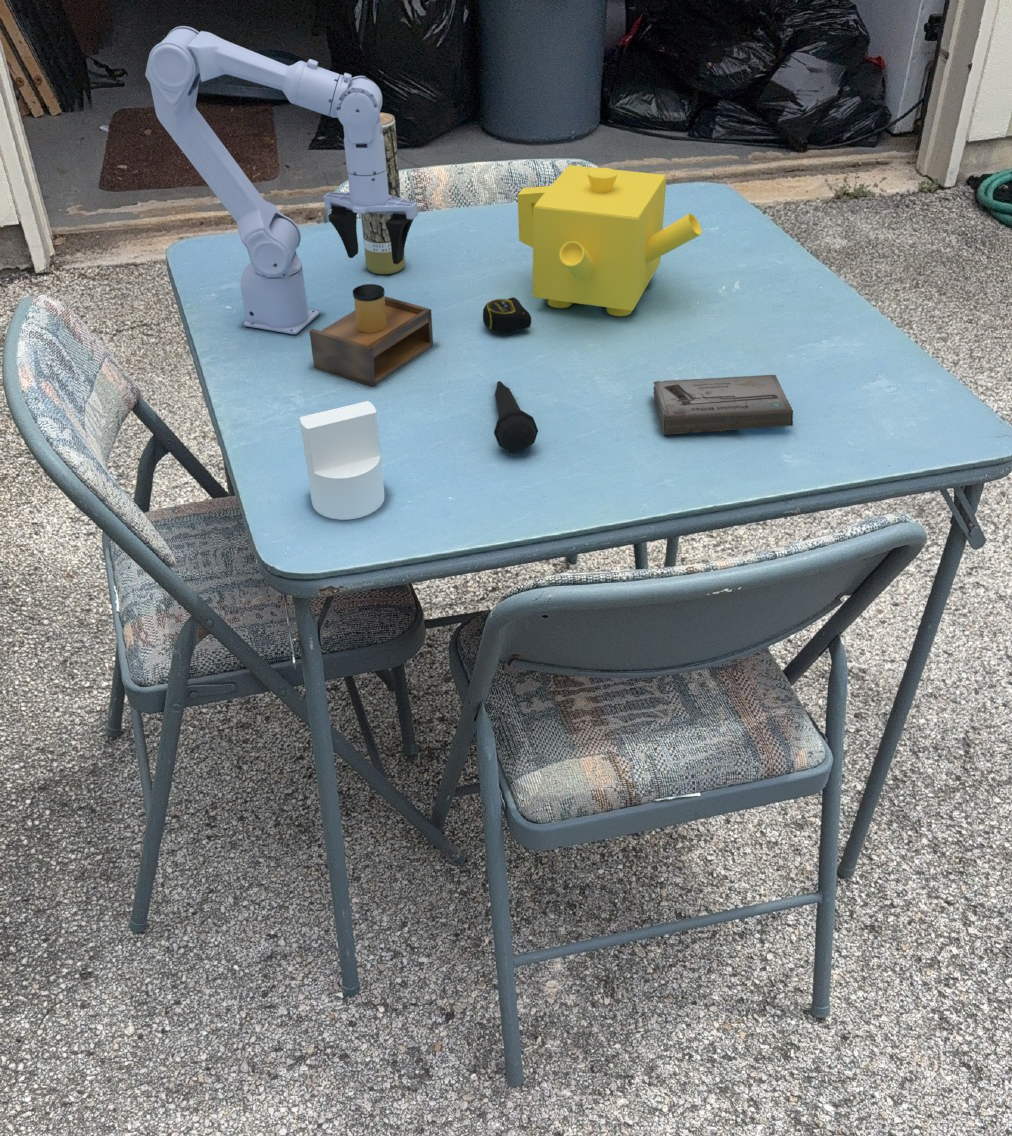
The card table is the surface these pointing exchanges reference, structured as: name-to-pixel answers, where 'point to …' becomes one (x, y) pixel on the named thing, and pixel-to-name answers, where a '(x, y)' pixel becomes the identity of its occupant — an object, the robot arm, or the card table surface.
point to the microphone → (513, 422)
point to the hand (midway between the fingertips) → (375, 258)
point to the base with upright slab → (344, 461)
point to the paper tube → (374, 223)
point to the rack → (373, 343)
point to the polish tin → (370, 308)
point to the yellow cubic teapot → (598, 236)
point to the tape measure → (505, 316)
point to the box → (721, 404)
